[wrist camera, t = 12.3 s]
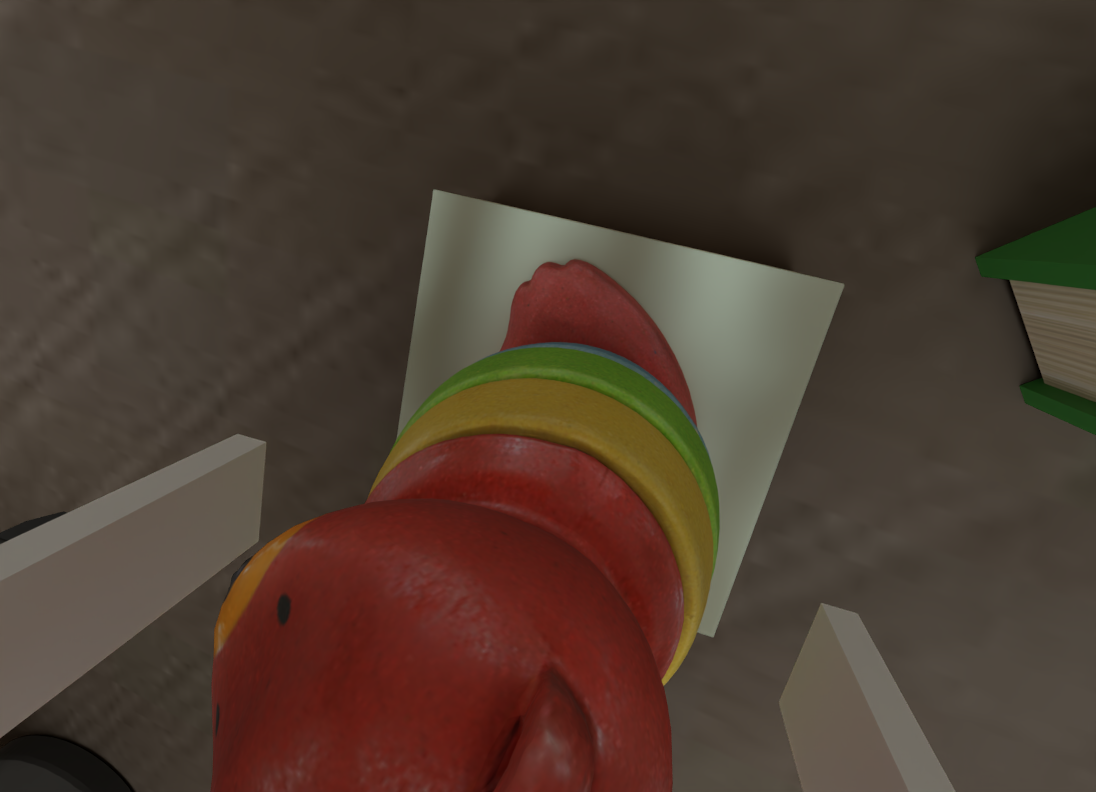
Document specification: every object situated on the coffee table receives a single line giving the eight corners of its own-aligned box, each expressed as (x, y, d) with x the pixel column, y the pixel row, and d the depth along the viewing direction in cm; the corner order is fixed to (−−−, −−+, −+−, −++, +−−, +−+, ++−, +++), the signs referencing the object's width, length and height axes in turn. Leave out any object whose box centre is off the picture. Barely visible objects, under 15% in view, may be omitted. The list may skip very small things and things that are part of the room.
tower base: (444, 467, 33) (382, 535, 26) (492, 202, 29) (433, 189, 21) (700, 541, 32) (713, 637, 24) (793, 271, 27) (844, 283, 20)
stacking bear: (561, 233, 21) (161, 218, 4) (769, 413, 21) (1200, 1091, 4) (401, 438, 24) (-178, 892, 8) (582, 591, 25) (418, 1354, 8)
